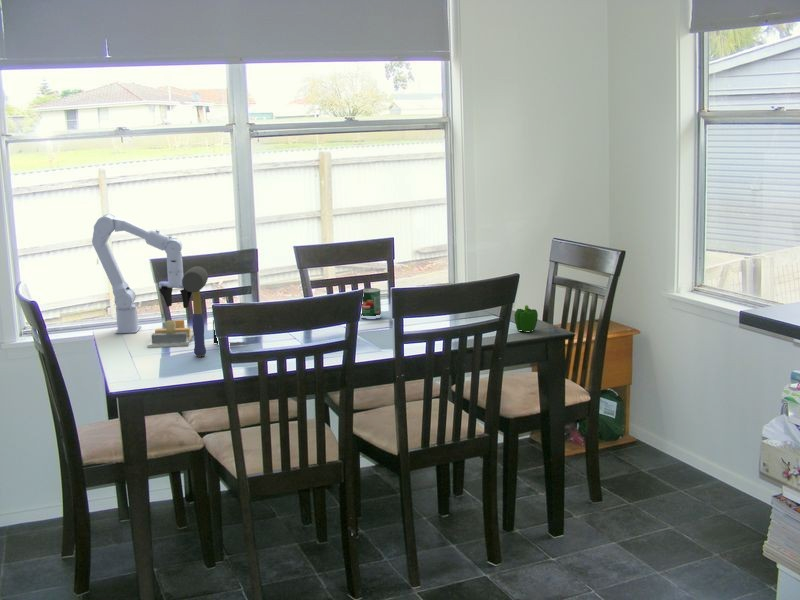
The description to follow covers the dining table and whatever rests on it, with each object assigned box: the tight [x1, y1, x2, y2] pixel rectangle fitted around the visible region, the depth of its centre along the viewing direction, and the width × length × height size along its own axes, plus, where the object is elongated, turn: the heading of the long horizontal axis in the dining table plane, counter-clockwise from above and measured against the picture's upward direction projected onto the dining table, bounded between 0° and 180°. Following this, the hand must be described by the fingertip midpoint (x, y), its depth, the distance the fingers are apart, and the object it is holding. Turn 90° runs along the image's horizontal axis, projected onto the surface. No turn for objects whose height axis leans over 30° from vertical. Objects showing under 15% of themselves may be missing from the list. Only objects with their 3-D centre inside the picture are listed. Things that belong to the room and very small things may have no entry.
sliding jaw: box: [154, 319, 191, 336], centre depth 339 cm, size 10×12×4 cm
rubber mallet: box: [182, 265, 209, 358], centre depth 307 cm, size 12×8×30 cm, turn 3°
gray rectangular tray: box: [147, 327, 194, 349], centre depth 335 cm, size 24×14×4 cm, turn 5°
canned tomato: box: [360, 287, 382, 317], centre depth 361 cm, size 8×8×11 cm
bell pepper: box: [514, 304, 539, 332], centre depth 333 cm, size 8×8×10 cm
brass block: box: [164, 319, 176, 333], centre depth 331 cm, size 4×3×6 cm
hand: (177, 306), depth 349 cm, fingers open, 7 cm apart
